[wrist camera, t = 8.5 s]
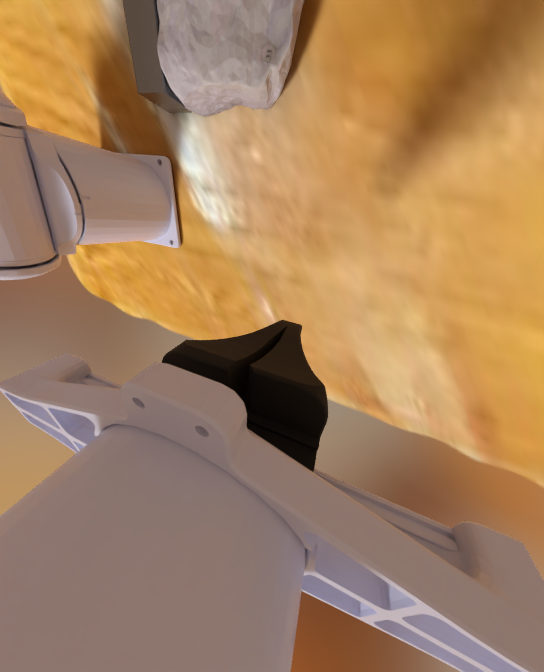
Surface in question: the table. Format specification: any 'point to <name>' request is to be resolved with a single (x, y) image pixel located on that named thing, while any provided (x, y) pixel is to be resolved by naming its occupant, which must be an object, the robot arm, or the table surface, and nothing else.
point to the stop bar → (149, 54)
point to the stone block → (227, 51)
